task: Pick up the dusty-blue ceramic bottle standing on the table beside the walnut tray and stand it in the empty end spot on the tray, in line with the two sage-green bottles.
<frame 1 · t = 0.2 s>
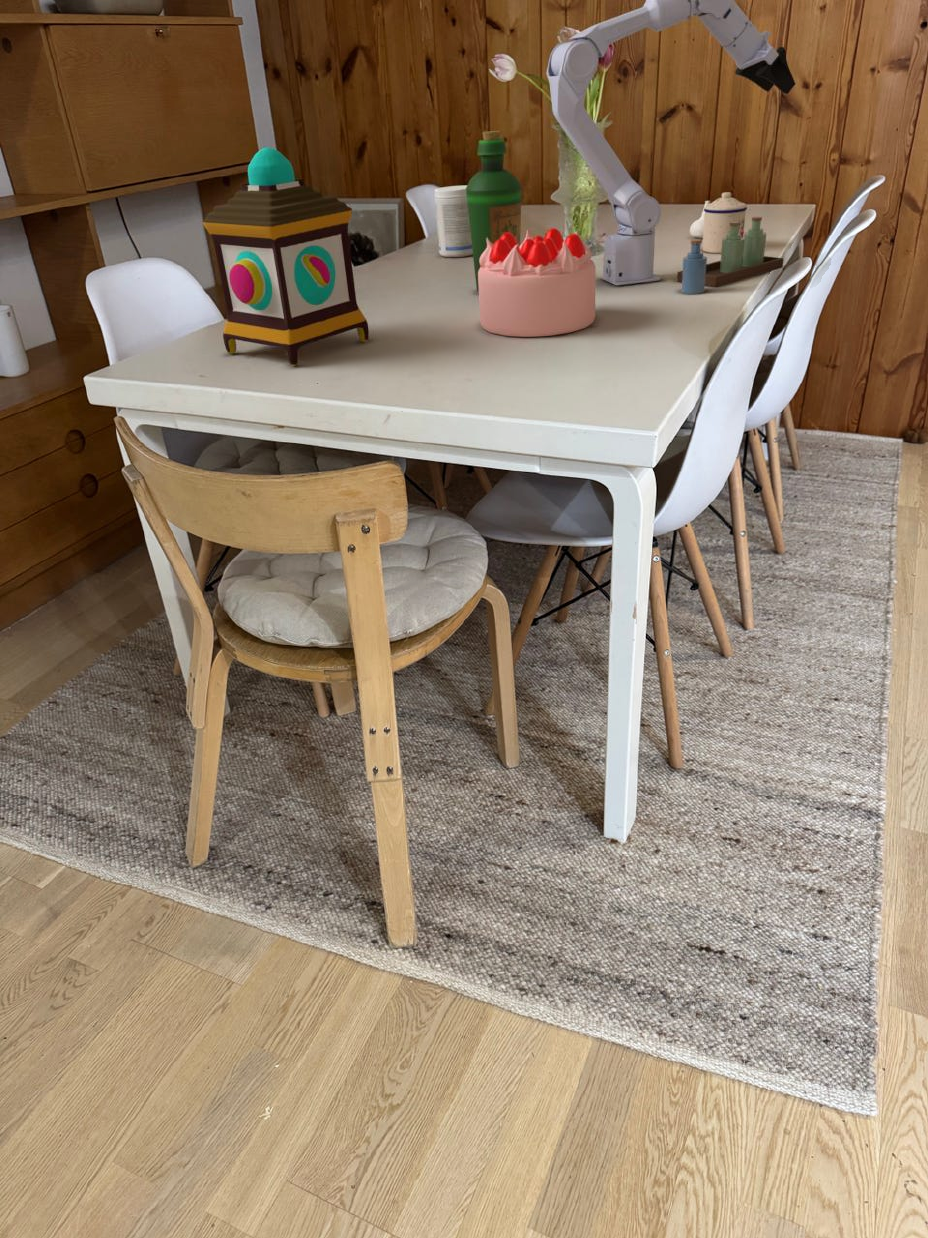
hand: (781, 87, 168), 31 cm above the table, tool tilted 45°, fingers open, 7 cm apart
green bottle far: (752, 265, 182), point 1 cm above the table, touching tray
tray: (730, 274, 179), on the table
bottle: (498, 291, 180), on the table
decorative lantern: (298, 349, 151), on the table
blue bottle: (692, 291, 168), on the table
green bottle mid: (730, 271, 178), point 1 cm above the table, touching tray
cake: (538, 324, 155), on the table
supplement tub: (458, 255, 218), on the table
cream enamel lidded pot: (723, 249, 202), on the table
garlic bulb: (702, 238, 216), on the table
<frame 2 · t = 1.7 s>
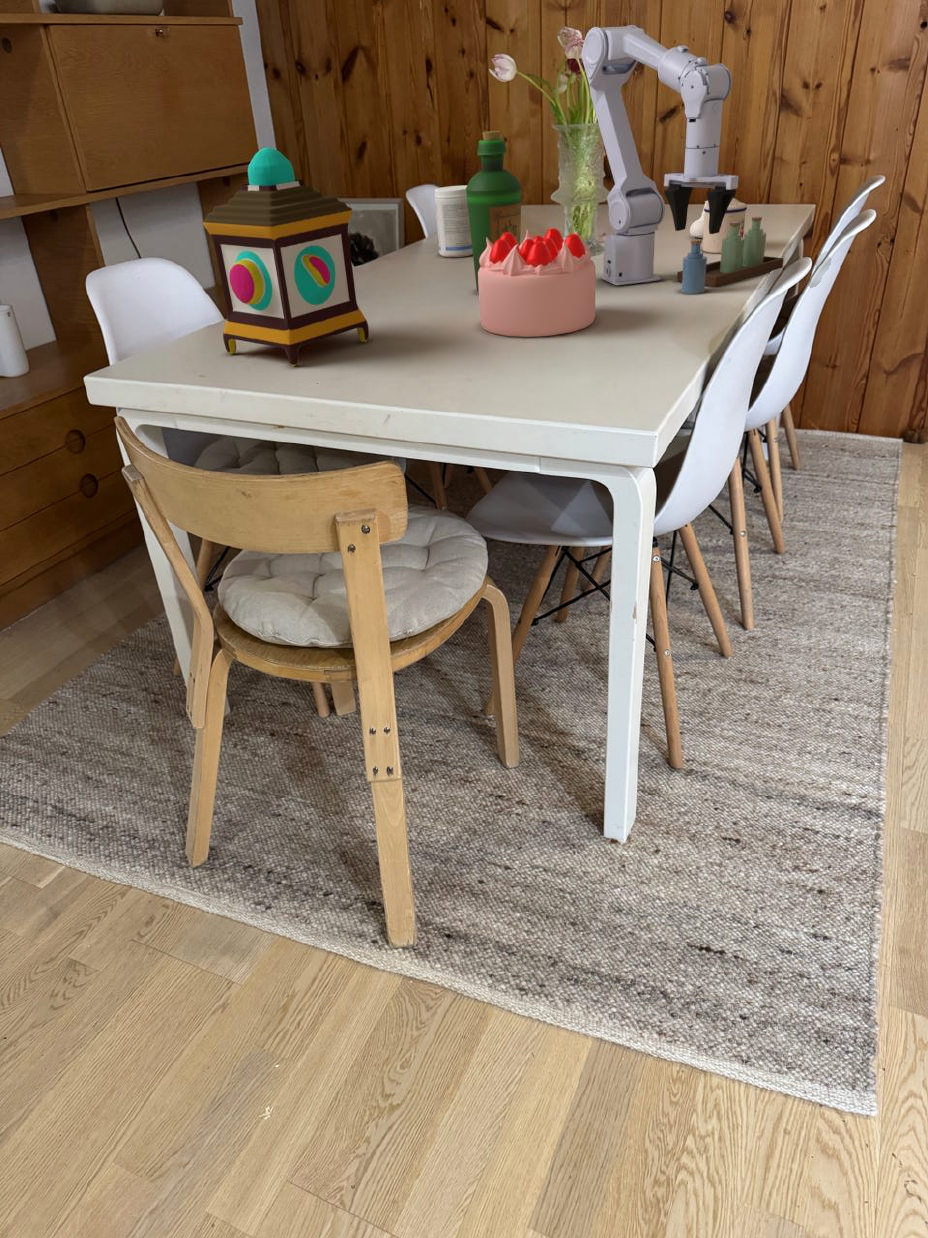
hand: (696, 231, 163), 10 cm above the table, tool pointing down, fingers open, 7 cm apart
nothing on the table moved.
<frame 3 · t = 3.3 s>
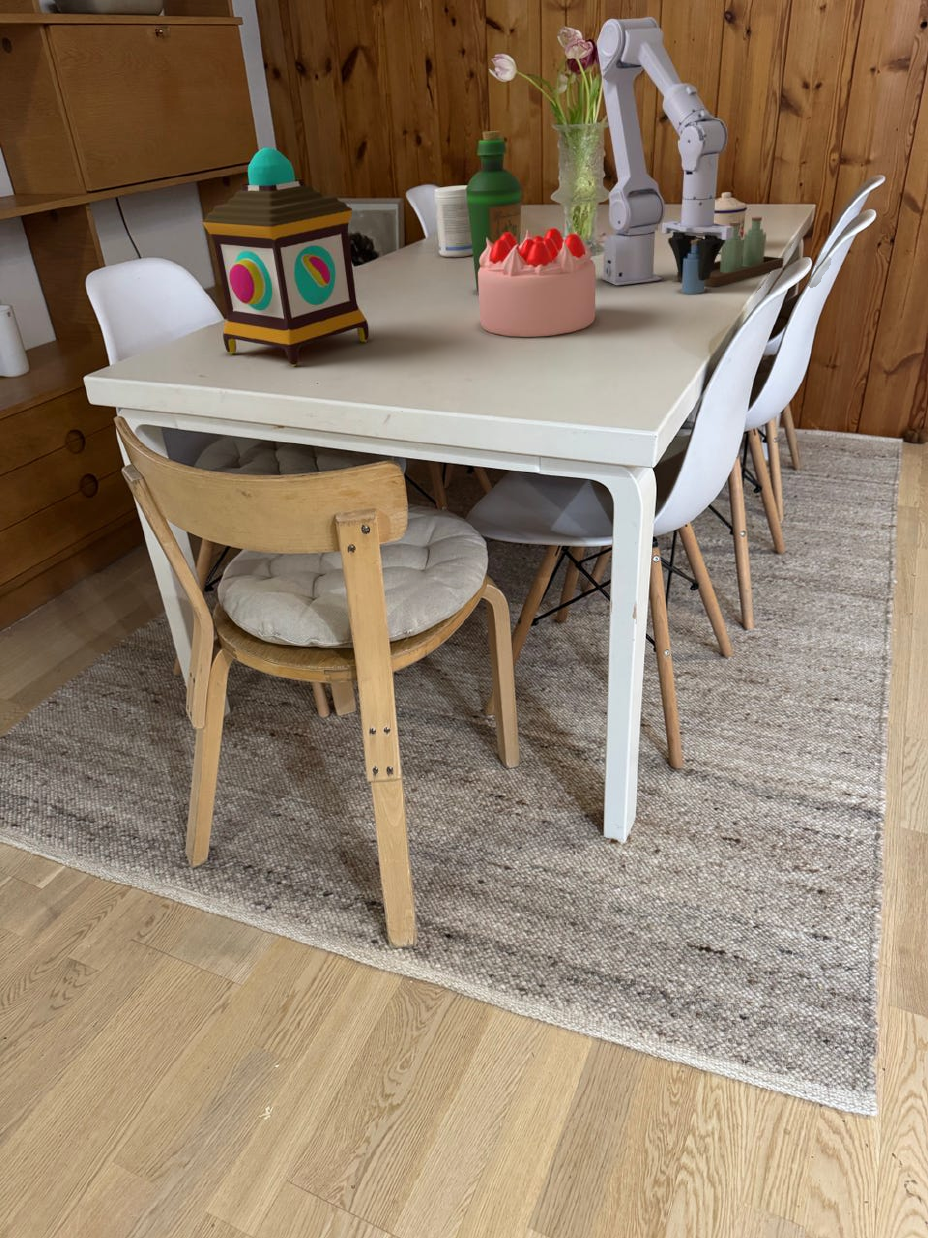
hand: (693, 277, 167), 2 cm above the table, tool pointing down, fingers closed on blue bottle, 4 cm apart
blue bottle: (692, 291, 168), on the table, touching gripper
everything else where it was.
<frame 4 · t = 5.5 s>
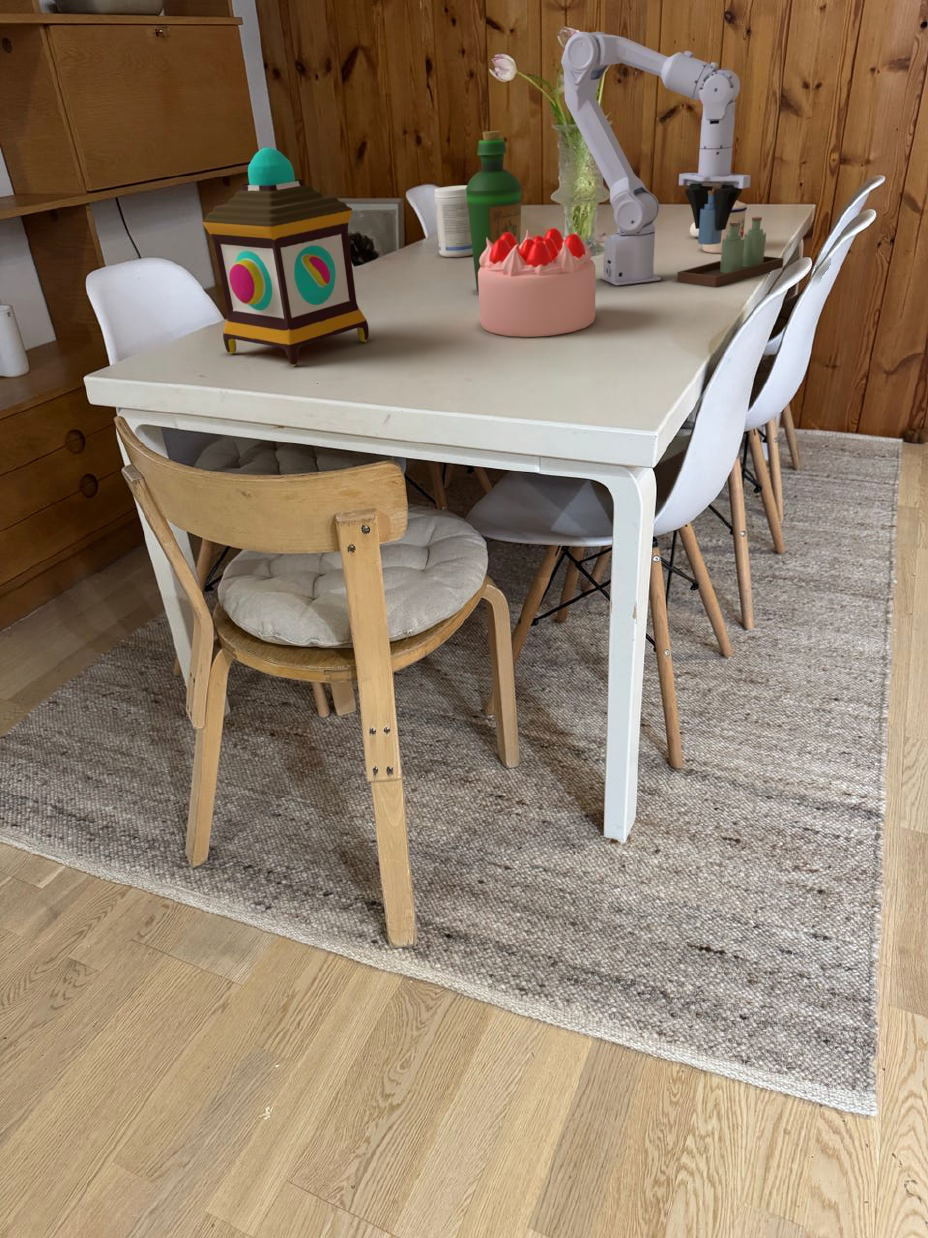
hand: (710, 228, 169), 10 cm above the table, tool pointing down, fingers closed on blue bottle, 4 cm apart
blue bottle: (709, 242, 171), point 7 cm above the table, touching gripper
everything else where it was.
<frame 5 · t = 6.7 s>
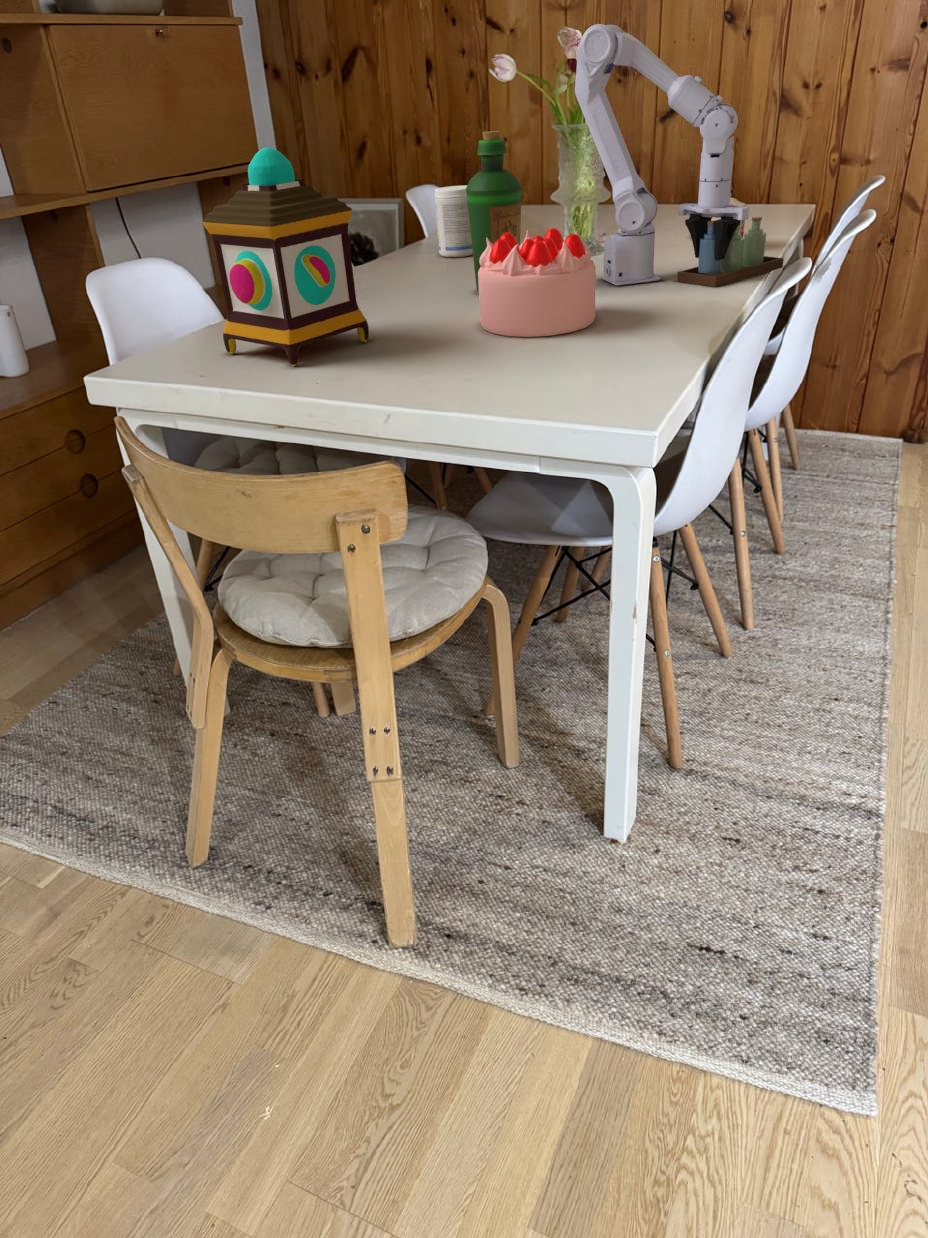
hand: (709, 258, 173), 4 cm above the table, tool pointing down, fingers closed on blue bottle, 4 cm apart
blue bottle: (709, 271, 174), point 2 cm above the table, touching gripper
everything else where it was.
when the fingers open (3 cm above the table, at t = 7.5 s): blue bottle stays where it is, resting on tray.
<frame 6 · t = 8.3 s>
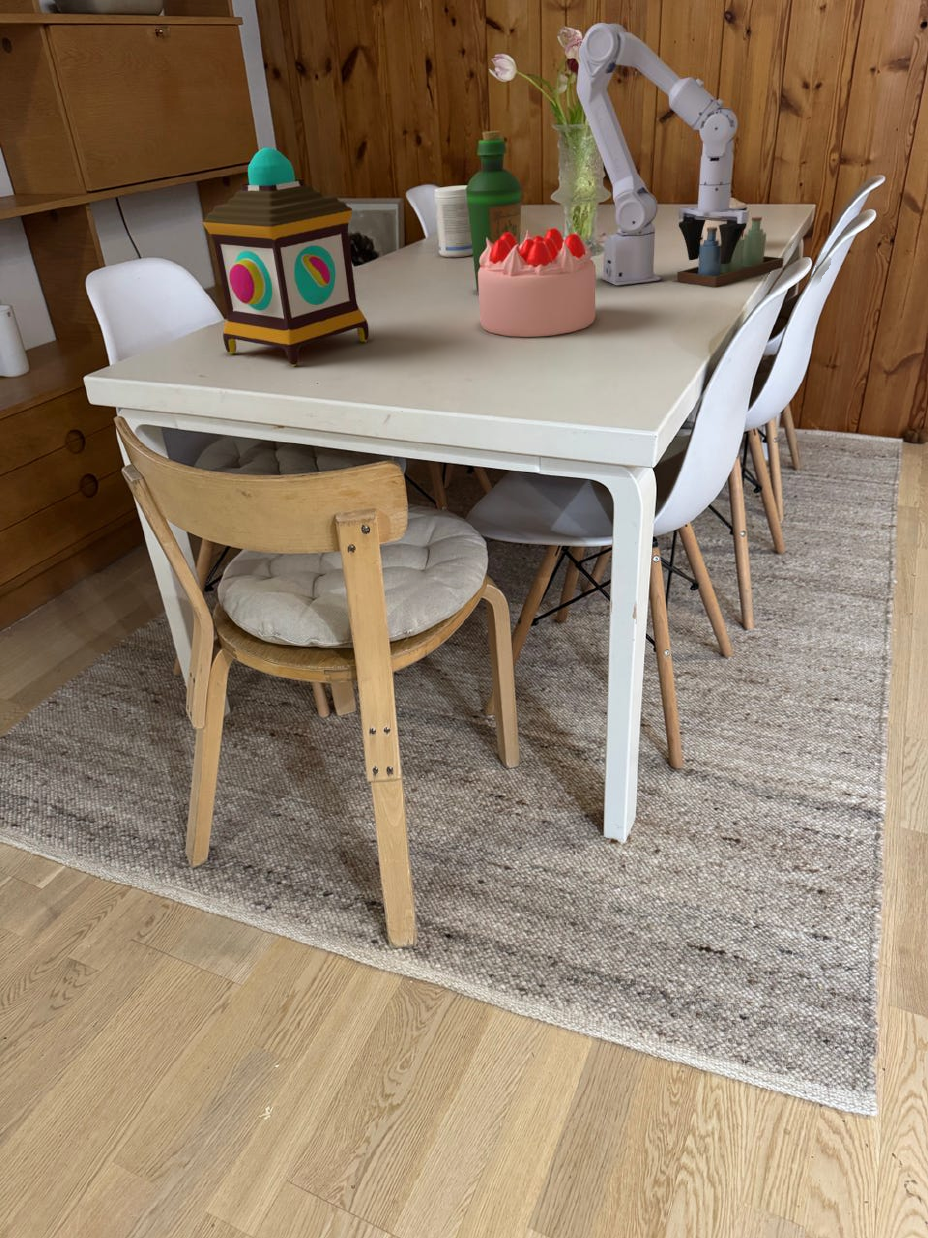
hand: (709, 261, 173), 4 cm above the table, tool pointing down, fingers open, 7 cm apart
blue bottle: (708, 277, 175), point 1 cm above the table, touching tray
everything else where it was.
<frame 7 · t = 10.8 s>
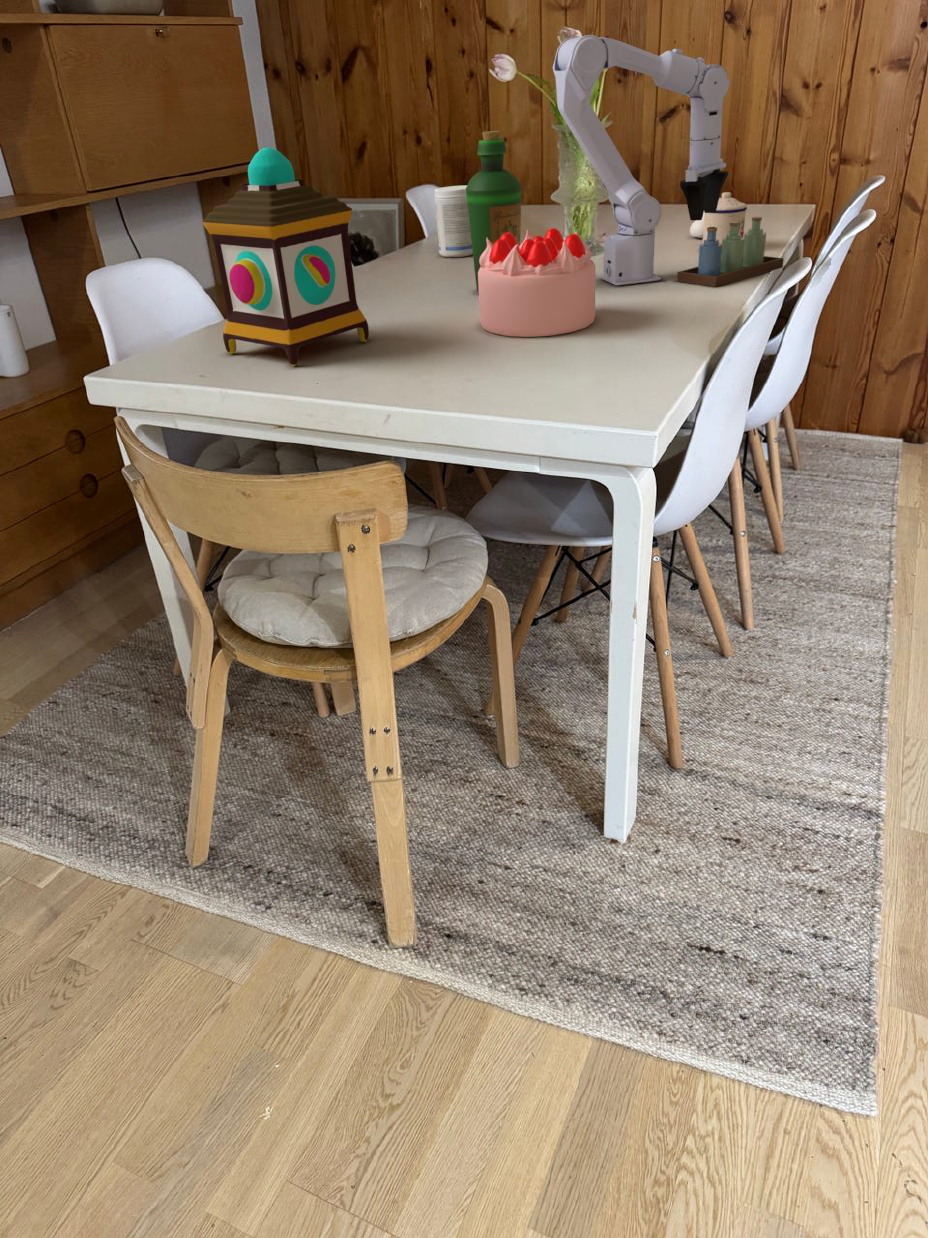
hand: (703, 216, 177), 10 cm above the table, tool pointing down, fingers open, 7 cm apart
nothing on the table moved.
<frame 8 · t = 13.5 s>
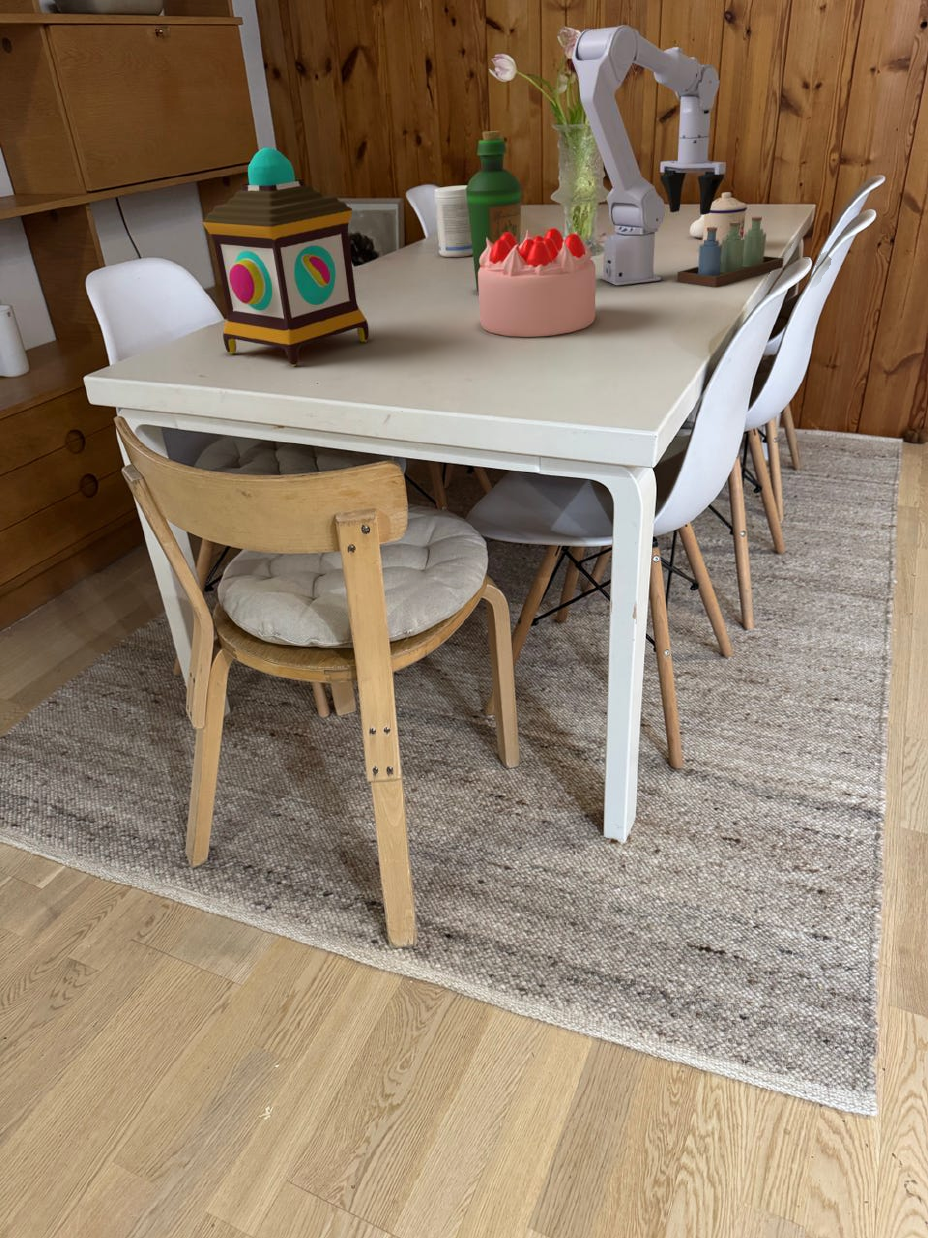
hand: (689, 212, 182), 10 cm above the table, tool pointing down, fingers open, 7 cm apart
nothing on the table moved.
at the end: blue bottle 0.1 cm from the target spot on the table beside the green bottle mid, resting on tray; blue bottle tilted 0°; green bottle mid moved 0.0 cm from its start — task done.
